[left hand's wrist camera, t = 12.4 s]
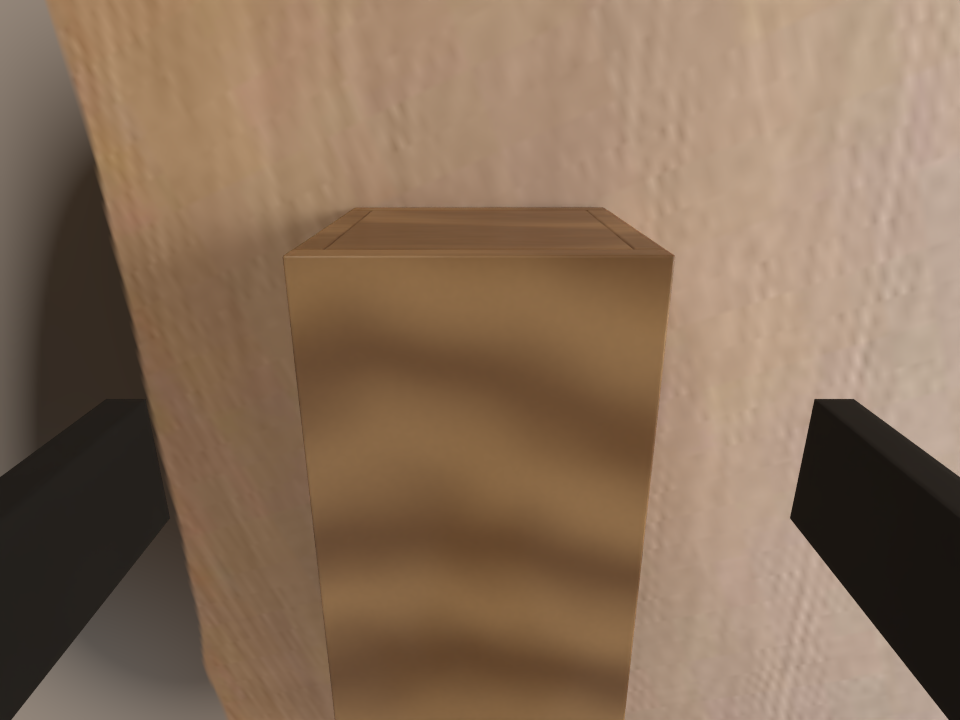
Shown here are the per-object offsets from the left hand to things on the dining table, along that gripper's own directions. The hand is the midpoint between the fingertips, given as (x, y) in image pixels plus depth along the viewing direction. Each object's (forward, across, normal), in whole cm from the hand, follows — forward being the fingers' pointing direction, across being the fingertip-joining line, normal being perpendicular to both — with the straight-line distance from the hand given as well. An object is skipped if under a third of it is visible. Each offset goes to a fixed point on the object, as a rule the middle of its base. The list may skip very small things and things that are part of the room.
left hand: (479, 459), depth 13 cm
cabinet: (+15, 0, -6) cm, 16 cm away
